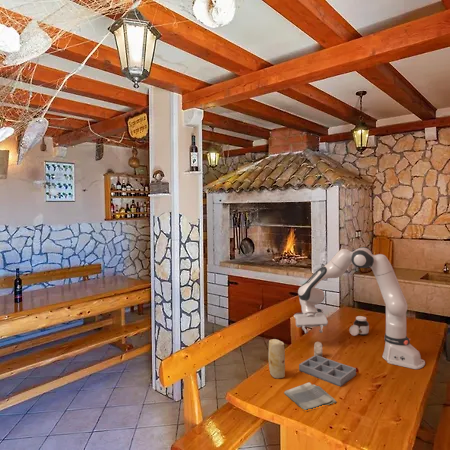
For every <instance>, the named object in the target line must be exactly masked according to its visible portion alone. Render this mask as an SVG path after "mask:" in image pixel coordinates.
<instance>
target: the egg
mask: <svg viewBox="0 0 450 450" xmlns="http://www.w3.org/2000/svg"><path fill="white" fill-rule="evenodd" d="M313 346H314V347H313V356H314V355H318V356H321V357H323V344H322V342H321V341H316V342H314V345H313Z"/></svg>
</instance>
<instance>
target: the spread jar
mask: <svg viewBox="0 0 450 450" xmlns="http://www.w3.org/2000/svg"><path fill="white" fill-rule="evenodd" d="M369 330H370V323H369V321H367V317H366V316H361V315H358V316H355V320H354V321H353V325H351V326H350V327H349V330H348V331H349V333H350V334H351V336H354V337H355V336H363V337H364V336H367V335H368V334H369Z"/></svg>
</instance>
